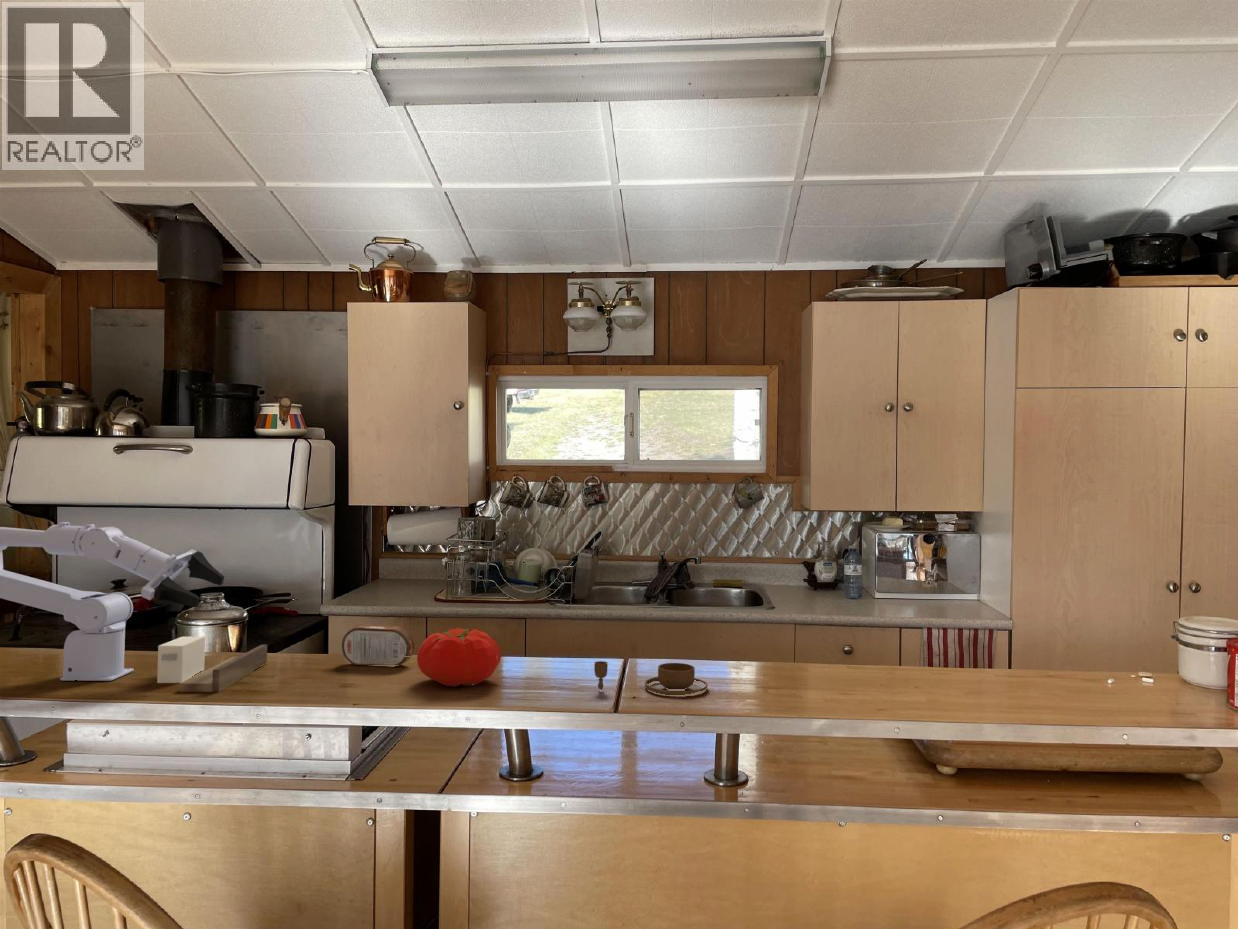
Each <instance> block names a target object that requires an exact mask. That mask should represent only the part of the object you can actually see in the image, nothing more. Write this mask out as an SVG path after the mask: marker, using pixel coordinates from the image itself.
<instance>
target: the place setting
mask: <svg viewBox="0 0 1238 929" xmlns="http://www.w3.org/2000/svg"><path fill="white" fill-rule="evenodd" d="M608 668H609V667H608V662H607V661H605V660H603V661H600V660H599V661H595V662H594V667H593V669H594V675H595V677H596V678H598V683H597V687H598V690H599V689H601V690H603V688H604V686H605V685H604V678H606V676H608ZM695 671H696V670H695V666H694V665H692V664H688V663H682V662H665V663H662V664H659V665H658V666H657V676H655V677H651V678H648V679H645V681H644V688H645V689H646V688H647V689H648V690H650V691H653V692H656V693H660V694H665V695H685V694H691V693H695V692H698V691H703V690H705V689H706V688H707V689H708V687H707V686H708V683H707V682H706V681H705V680H703V679H700V678H697V677H695V674H696V673H695ZM694 680H696V681H701V682H703V683H704V684H706V686H705V687H704V688H699V689H698V688H697V689H694V690H693V689H691V690H686V691H668V690H666V688H668V689H685V688H687V689H688V688H690V687H691V686H693V685H692V684H693V682H694ZM653 681H659V682H660V684H659V685H661V686H662V687H664V688H665V689H660V688H655V687H653V686H651V687H650V686H649V685H647V684H649V683H651V682H653Z"/></svg>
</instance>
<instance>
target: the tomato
mask: <svg viewBox="0 0 1238 929" xmlns="http://www.w3.org/2000/svg"><path fill="white" fill-rule="evenodd" d="M469 630H471V631H469ZM417 652H418V653H417V657H416V661H417V666H418V668H419V670H420V672H421V673H422V674H423V675H425V677H428V678H429V679H431V680H433V681H435V682H438V683H439V684H442V685H443V686H445V685H446V686H445V687H448V686H452V687H458V686H461V684H462V686H464V685H472V684H475V685H477V684H479V683H481V682H483V681H485V680H487V679H488V678H490V677H491V676H492V675H493V674H494V672H495V670H496V669H497V668H498V666H499V664H500V663H501V659H502V652H501V648H500V646H499V645H498V642H497V641H495V640H494V639H493V638H491V637H490V636H489V635H488V633H486V632H484V631H480V630H478V629H476V628H475V629H472V628H466V629H465V628H457V627H455V628H452V629H449V630H447V631H444V632H436V633H433V634H430V635H429V636H427V638H425V639H424V641H423V642H422V643H421V645H420V647H419V648H418V651H417Z"/></svg>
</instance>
